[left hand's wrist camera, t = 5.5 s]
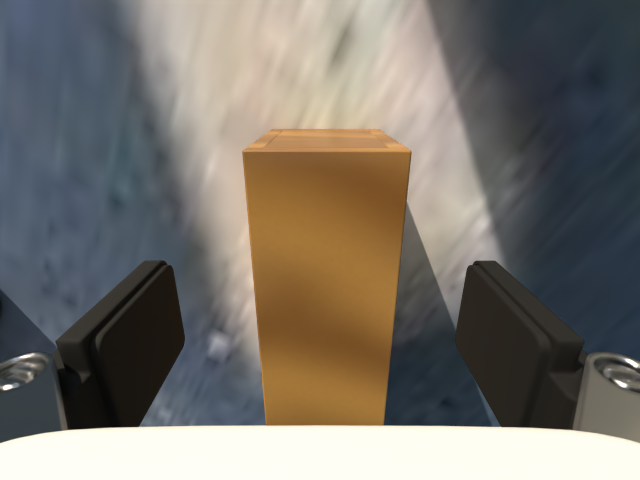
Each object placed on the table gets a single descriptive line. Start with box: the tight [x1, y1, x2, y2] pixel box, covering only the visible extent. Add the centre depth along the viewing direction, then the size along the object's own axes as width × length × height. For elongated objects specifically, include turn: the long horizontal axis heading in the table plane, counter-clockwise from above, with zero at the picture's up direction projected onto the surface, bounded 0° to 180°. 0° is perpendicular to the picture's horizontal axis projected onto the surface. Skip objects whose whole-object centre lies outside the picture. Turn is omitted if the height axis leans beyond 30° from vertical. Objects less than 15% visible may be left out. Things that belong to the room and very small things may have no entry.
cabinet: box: [242, 129, 411, 426], centre depth 20 cm, size 18×6×8 cm, turn 0°
